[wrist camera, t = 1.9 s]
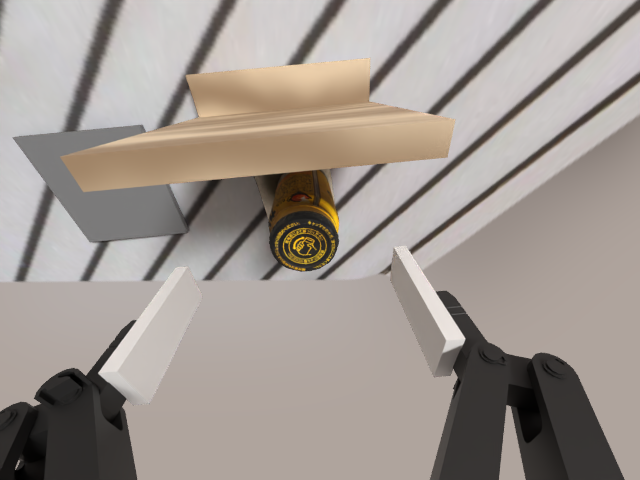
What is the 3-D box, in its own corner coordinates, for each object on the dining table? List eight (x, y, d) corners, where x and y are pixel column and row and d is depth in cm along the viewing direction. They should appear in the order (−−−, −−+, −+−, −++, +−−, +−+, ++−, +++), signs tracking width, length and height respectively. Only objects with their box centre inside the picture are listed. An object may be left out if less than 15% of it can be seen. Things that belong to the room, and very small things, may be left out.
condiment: (335, 210, 29) (353, 274, 19) (269, 222, 30) (252, 291, 20) (327, 150, 25) (343, 191, 15) (250, 164, 26) (217, 213, 16)
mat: (18, 136, 23) (12, 137, 22) (142, 124, 23) (138, 125, 22) (93, 239, 29) (89, 242, 29) (189, 230, 29) (187, 232, 29)
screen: (190, 75, 21) (-9, 54, 8) (367, 59, 21) (478, 9, 8) (209, 135, 24) (86, 197, 10) (365, 120, 24) (446, 162, 10)
